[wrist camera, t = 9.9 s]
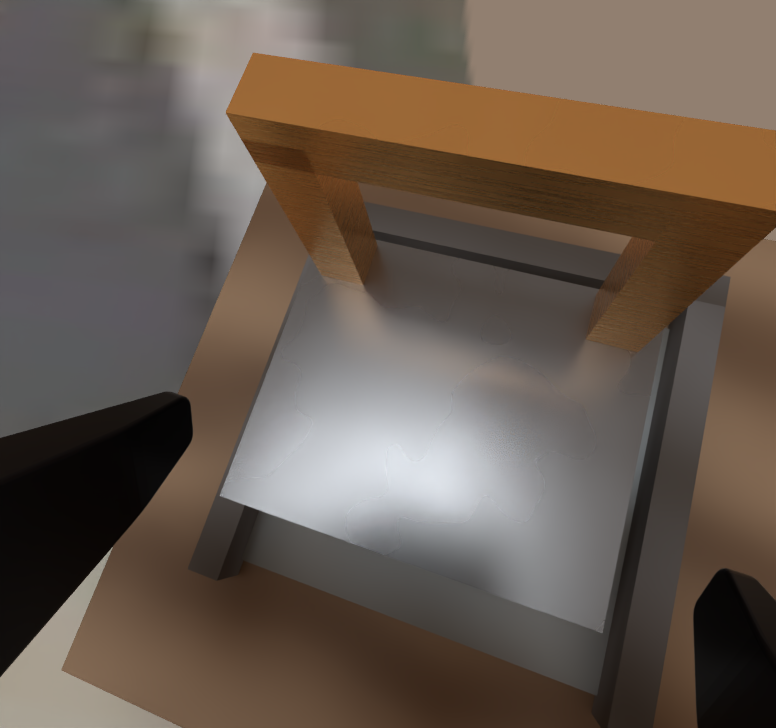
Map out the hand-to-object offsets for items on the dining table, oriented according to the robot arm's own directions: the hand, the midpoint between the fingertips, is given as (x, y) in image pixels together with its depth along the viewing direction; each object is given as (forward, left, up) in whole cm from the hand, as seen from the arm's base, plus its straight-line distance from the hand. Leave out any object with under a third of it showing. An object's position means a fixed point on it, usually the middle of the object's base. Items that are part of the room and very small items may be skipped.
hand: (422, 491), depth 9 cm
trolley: (0, -1, -8) cm, 8 cm away
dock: (0, -1, -10) cm, 11 cm away
